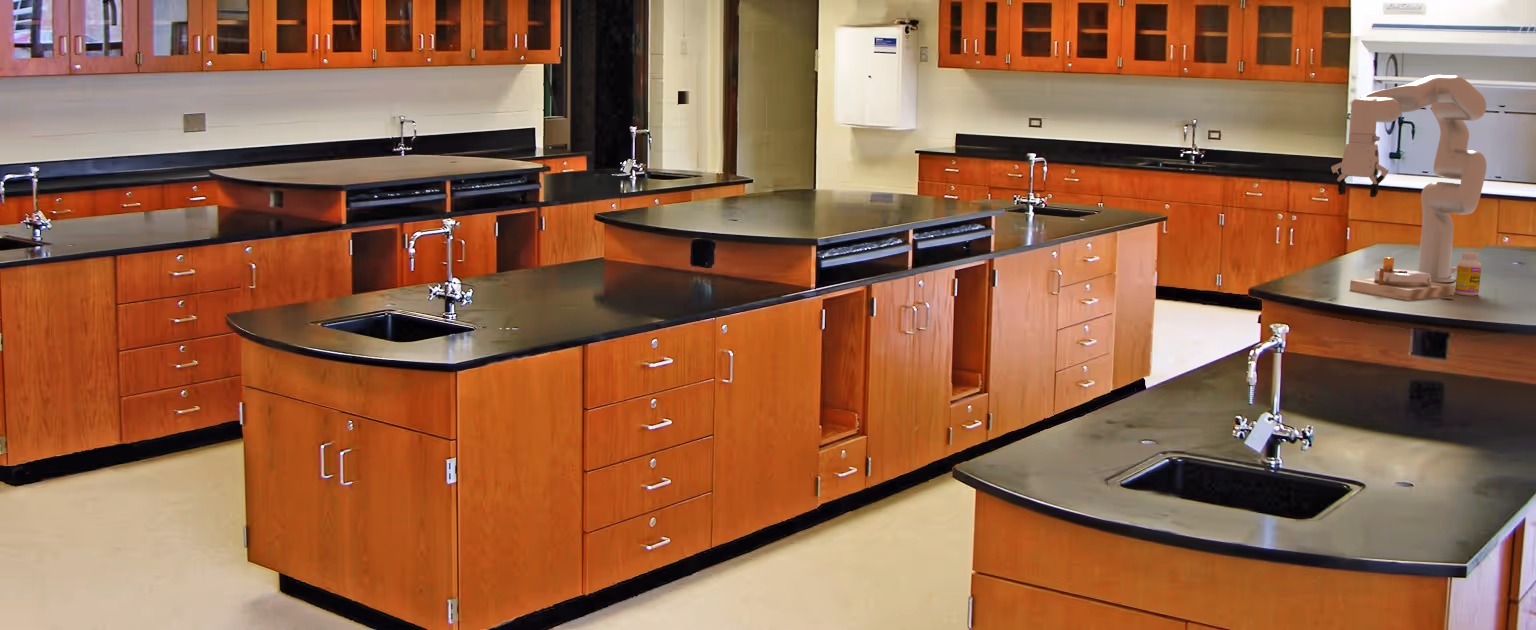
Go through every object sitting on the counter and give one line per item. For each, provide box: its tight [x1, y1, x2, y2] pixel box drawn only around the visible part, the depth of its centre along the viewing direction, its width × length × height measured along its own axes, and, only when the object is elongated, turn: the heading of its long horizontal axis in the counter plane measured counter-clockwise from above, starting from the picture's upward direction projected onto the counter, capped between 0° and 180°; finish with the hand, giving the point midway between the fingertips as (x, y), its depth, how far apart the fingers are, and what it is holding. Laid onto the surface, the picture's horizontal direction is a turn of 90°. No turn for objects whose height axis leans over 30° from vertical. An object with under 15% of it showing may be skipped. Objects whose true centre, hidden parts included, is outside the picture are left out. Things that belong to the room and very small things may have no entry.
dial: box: [1373, 256, 1431, 287], centre depth 474 cm, size 16×16×7 cm
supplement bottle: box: [1454, 251, 1482, 297], centre depth 473 cm, size 7×7×13 cm
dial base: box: [1349, 267, 1455, 301], centre depth 475 cm, size 21×21×8 cm
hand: (1357, 195), depth 476 cm, fingers open, 9 cm apart
